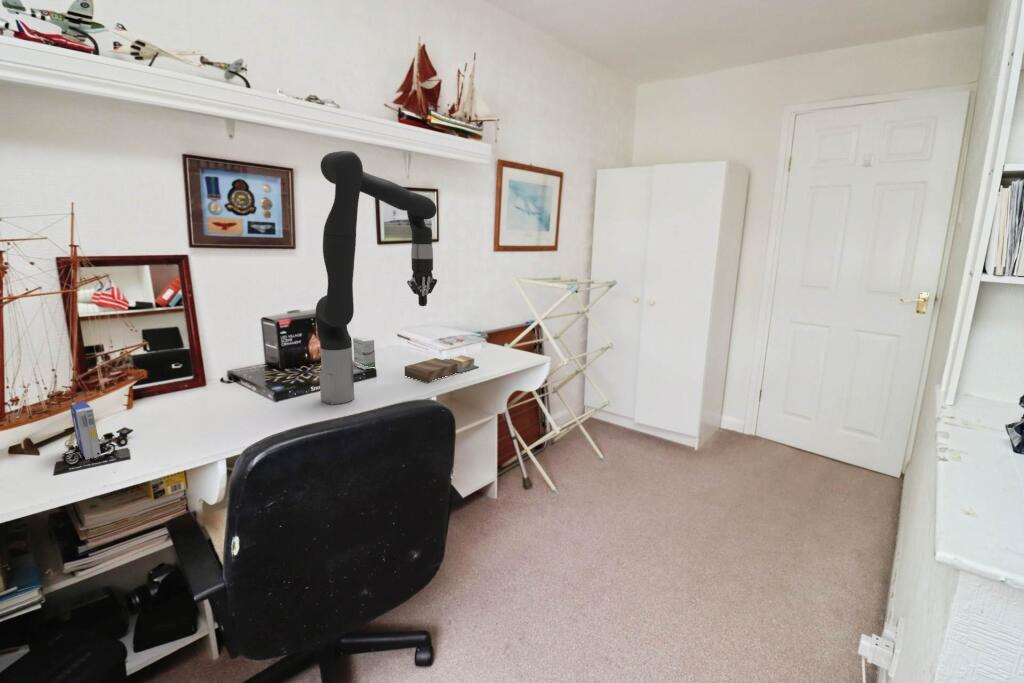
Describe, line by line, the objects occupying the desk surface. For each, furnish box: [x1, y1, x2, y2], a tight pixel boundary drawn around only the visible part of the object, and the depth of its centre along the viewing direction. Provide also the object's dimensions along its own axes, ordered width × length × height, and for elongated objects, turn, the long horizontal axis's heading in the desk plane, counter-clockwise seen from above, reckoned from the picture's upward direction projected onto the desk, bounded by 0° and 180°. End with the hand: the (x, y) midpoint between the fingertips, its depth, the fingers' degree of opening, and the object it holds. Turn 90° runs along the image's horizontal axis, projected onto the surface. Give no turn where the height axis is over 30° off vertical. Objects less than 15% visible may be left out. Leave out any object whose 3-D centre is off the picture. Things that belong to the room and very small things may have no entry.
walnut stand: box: [404, 357, 459, 383], centre depth 180 cm, size 16×12×4 cm
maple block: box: [449, 354, 475, 369], centre depth 192 cm, size 7×7×3 cm
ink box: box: [352, 336, 376, 368], centre depth 187 cm, size 9×5×12 cm, turn 46°
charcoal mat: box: [443, 358, 480, 374], centre depth 193 cm, size 11×18×1 cm, turn 54°
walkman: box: [69, 400, 102, 461], centre depth 111 cm, size 8×3×12 cm, turn 52°
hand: (422, 305), depth 171 cm, fingers closed
